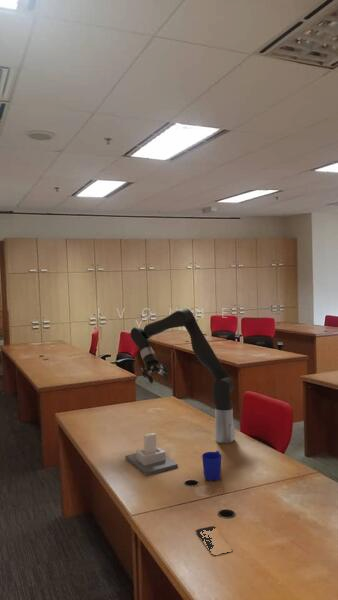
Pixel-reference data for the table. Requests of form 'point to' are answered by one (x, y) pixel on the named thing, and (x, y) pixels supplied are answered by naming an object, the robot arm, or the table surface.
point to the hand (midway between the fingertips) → (159, 381)
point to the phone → (205, 537)
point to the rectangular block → (150, 443)
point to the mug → (212, 465)
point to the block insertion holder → (151, 461)
